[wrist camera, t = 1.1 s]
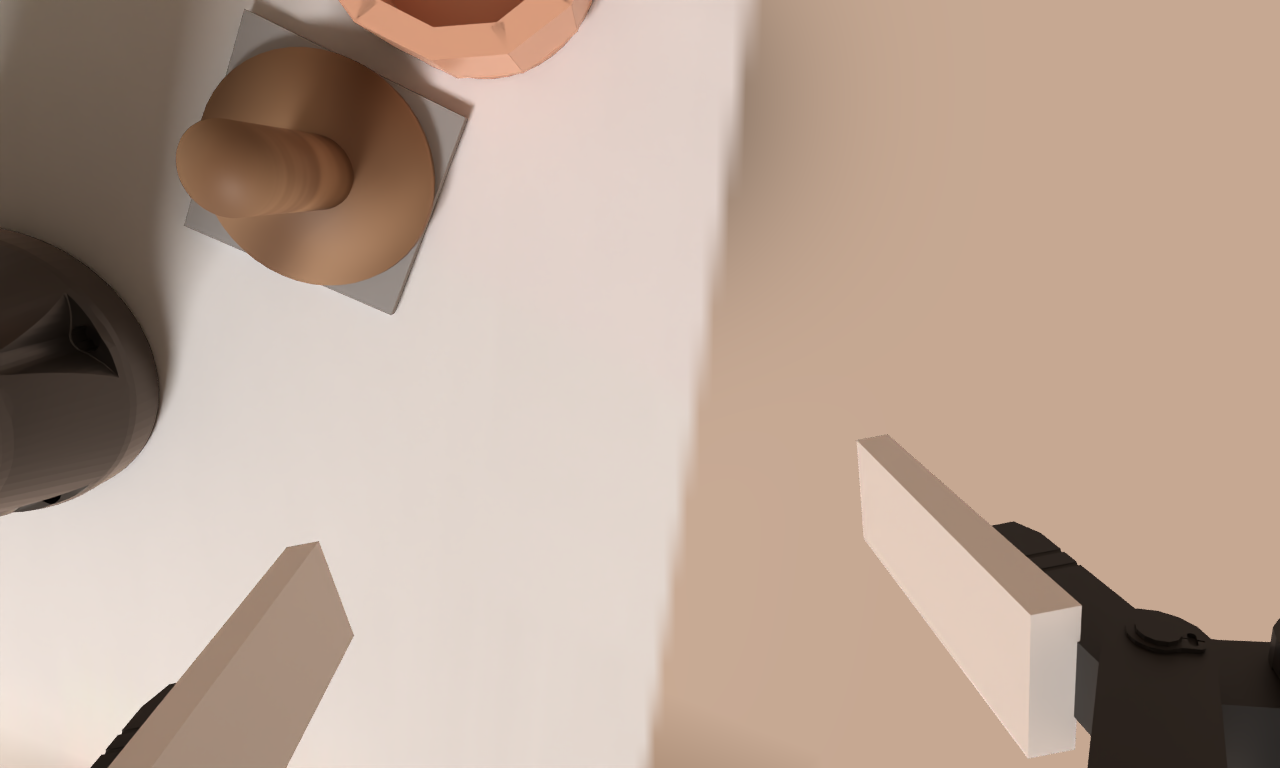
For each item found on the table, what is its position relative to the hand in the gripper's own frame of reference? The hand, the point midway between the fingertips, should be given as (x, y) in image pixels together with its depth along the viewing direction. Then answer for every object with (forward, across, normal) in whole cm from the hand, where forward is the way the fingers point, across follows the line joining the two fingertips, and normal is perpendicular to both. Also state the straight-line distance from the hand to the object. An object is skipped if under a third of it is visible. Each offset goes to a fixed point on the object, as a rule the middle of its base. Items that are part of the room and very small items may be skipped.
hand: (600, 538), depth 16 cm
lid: (+22, -12, +11) cm, 27 cm away
